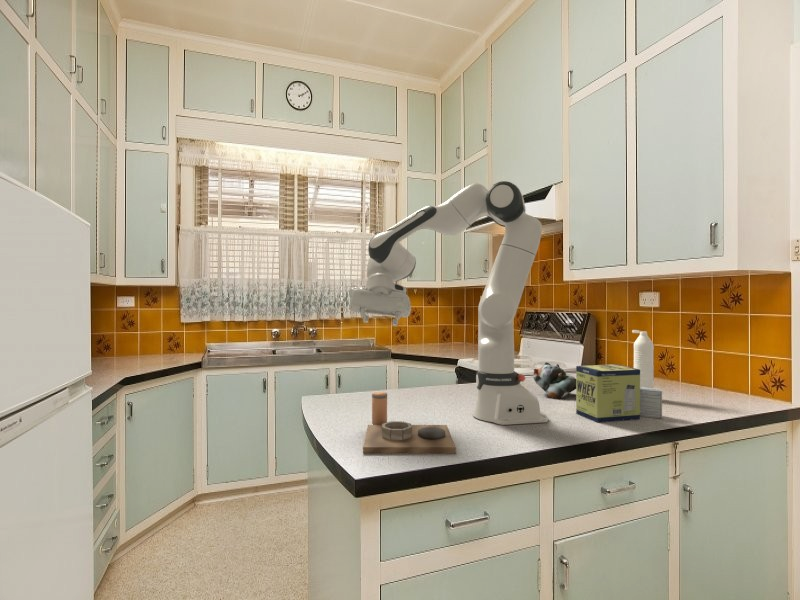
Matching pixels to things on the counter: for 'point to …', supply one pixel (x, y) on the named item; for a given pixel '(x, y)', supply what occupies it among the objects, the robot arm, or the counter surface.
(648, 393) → the medicine box
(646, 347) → the white pump bottle
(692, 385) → the counter surface
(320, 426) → the counter surface
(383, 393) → the hub peg
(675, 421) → the counter surface
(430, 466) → the counter surface
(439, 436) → the carrier board
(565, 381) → the grey stuffed animal toy
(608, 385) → the protein box
